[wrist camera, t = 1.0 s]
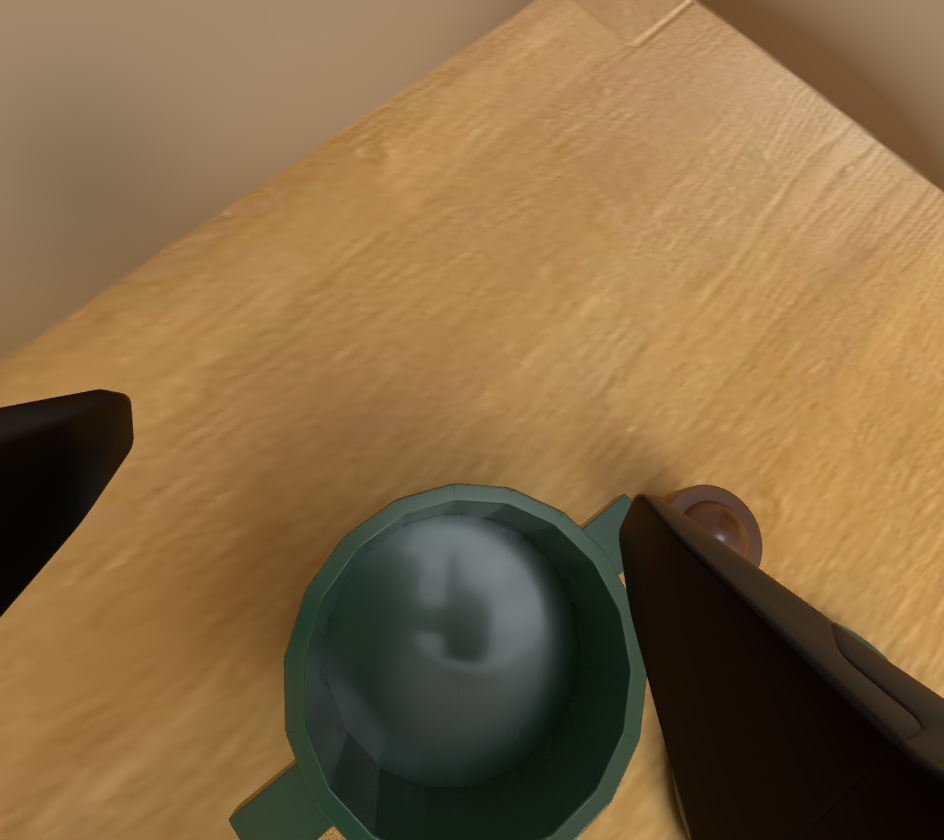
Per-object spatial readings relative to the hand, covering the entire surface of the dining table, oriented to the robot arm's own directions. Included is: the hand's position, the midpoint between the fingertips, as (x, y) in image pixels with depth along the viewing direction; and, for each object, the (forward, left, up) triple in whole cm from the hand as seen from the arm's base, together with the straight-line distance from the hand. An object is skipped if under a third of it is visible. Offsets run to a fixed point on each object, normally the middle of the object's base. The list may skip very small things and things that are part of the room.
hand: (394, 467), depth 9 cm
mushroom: (-6, -14, -18) cm, 23 cm away
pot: (-6, -1, -18) cm, 19 cm away
